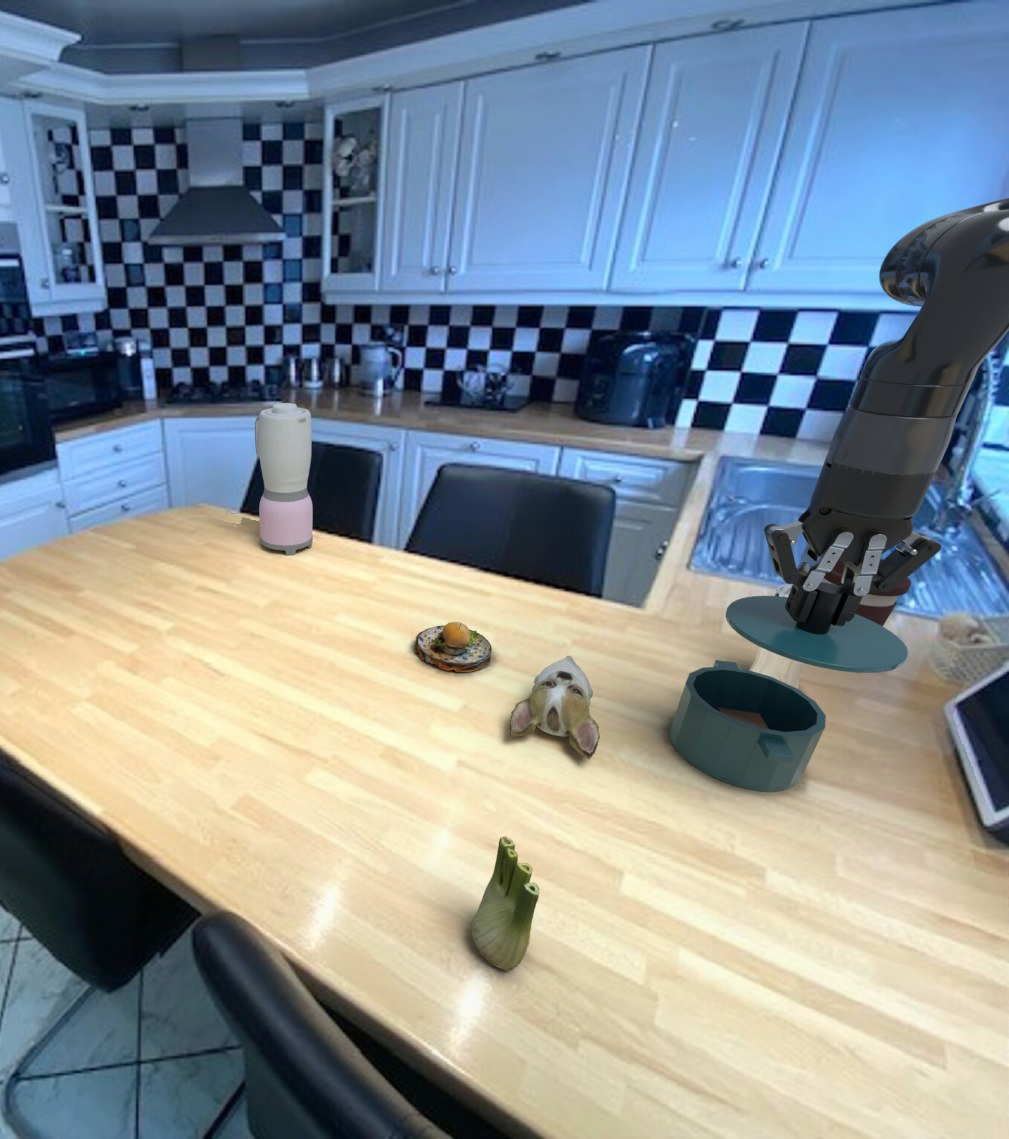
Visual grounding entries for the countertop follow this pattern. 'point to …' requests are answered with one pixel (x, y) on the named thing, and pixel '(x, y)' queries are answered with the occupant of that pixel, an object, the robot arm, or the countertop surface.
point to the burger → (453, 647)
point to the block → (745, 717)
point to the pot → (746, 728)
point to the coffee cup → (871, 596)
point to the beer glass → (778, 657)
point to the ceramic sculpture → (559, 707)
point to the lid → (817, 633)
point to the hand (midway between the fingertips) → (814, 619)
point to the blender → (285, 477)
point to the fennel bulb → (506, 910)
